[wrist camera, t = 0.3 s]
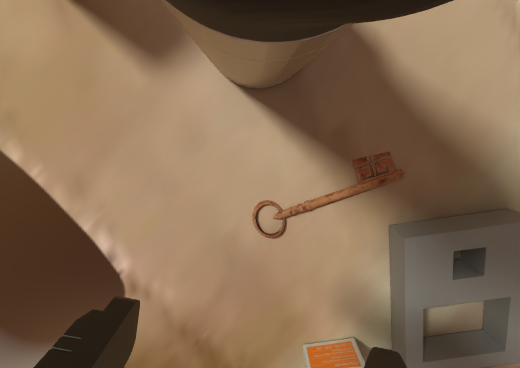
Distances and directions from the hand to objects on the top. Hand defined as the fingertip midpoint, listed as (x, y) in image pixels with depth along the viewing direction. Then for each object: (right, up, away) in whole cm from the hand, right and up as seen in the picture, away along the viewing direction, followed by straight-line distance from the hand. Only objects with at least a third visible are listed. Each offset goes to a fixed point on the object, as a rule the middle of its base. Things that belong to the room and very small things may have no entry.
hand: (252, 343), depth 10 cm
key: (+6, +5, +18) cm, 20 cm away
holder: (+20, -6, +21) cm, 30 cm away
